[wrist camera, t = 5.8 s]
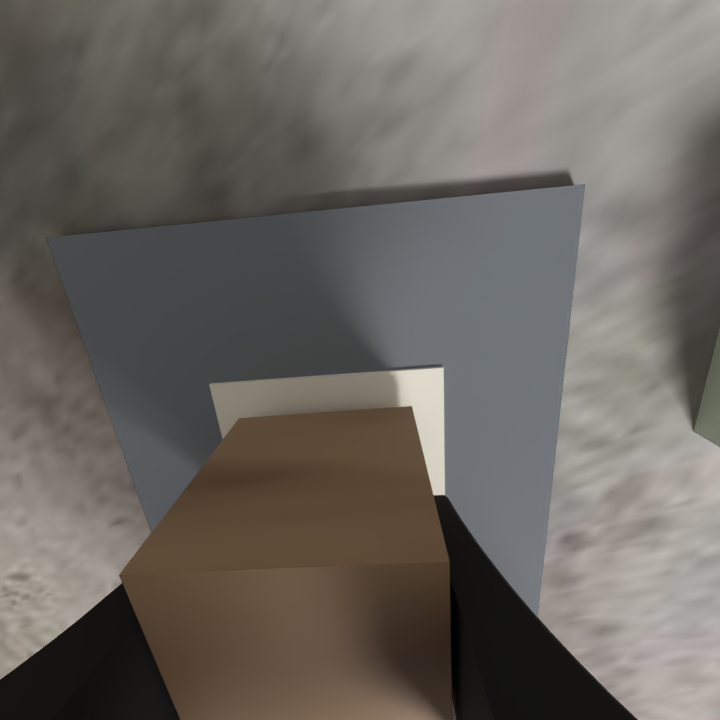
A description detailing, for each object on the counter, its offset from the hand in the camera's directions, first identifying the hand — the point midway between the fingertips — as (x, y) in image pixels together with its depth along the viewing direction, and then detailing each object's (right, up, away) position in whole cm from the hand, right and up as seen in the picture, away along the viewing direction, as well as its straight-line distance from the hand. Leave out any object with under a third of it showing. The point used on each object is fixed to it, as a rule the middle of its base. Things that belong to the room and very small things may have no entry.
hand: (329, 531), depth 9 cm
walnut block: (0, +1, +1) cm, 2 cm away
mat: (0, -1, +3) cm, 3 cm away
